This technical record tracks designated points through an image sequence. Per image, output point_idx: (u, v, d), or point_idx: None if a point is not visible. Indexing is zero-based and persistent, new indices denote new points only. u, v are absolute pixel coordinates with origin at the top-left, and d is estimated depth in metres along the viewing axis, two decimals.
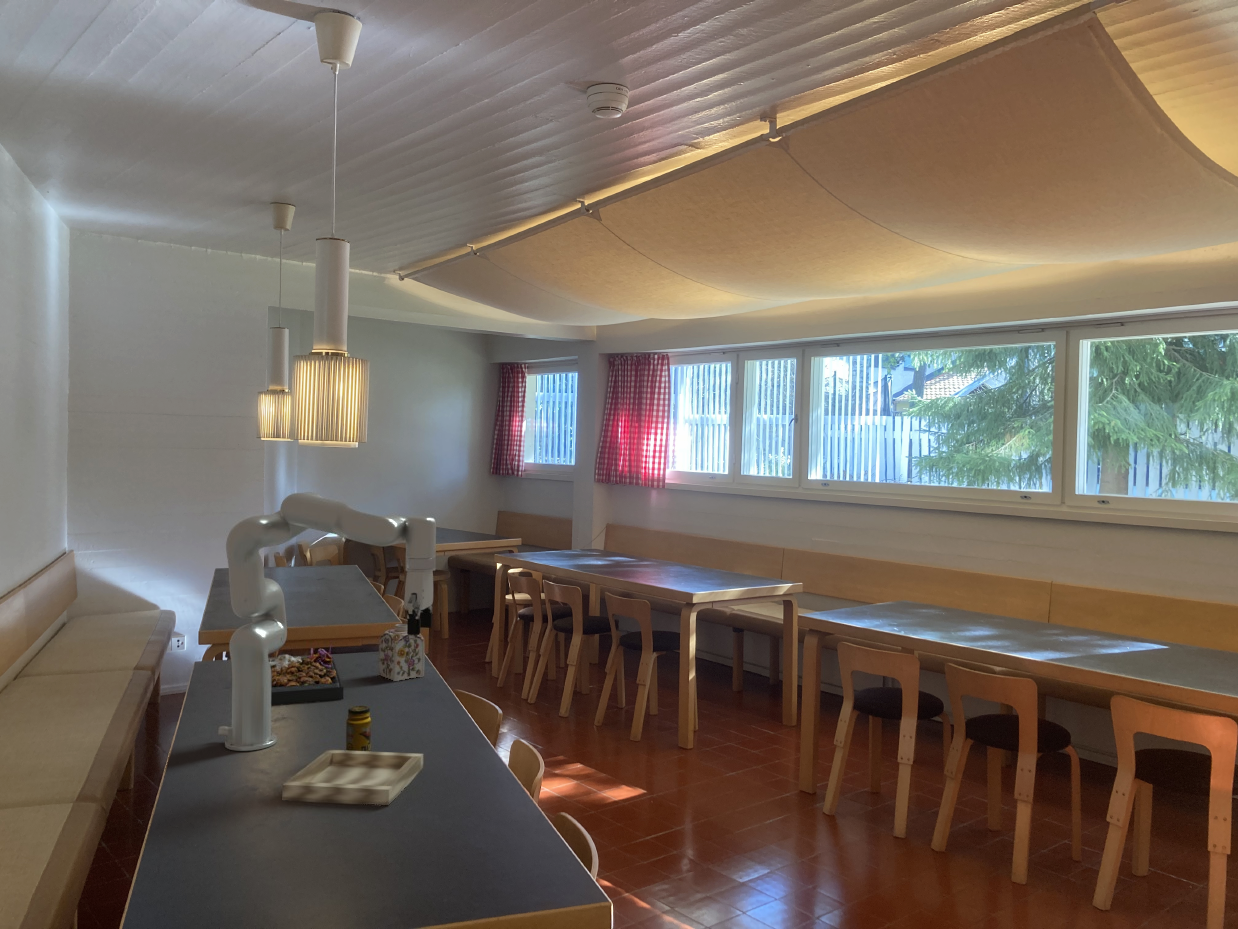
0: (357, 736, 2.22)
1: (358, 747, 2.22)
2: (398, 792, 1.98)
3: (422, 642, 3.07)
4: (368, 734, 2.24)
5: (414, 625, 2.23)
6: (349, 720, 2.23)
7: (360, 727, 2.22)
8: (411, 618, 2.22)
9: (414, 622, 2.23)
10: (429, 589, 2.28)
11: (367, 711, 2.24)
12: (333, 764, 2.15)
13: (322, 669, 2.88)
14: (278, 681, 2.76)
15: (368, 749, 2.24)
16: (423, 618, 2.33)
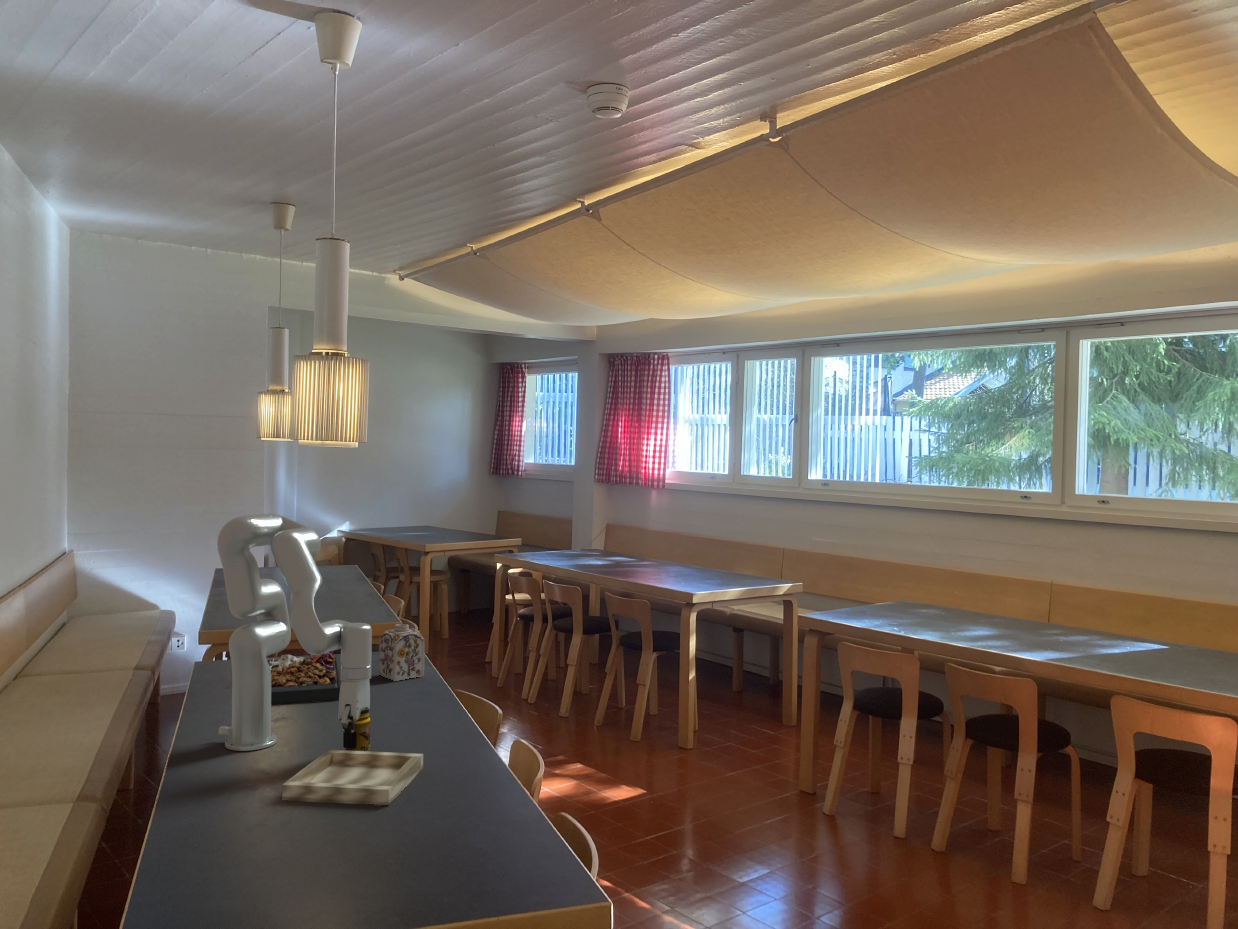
0: (357, 736, 2.22)
1: (357, 748, 2.22)
2: (398, 792, 1.98)
3: (422, 642, 3.07)
4: (367, 734, 2.24)
5: (350, 739, 2.20)
6: None
7: (359, 727, 2.22)
8: (347, 732, 2.20)
9: (350, 736, 2.20)
10: (364, 698, 2.24)
11: (366, 711, 2.24)
12: (333, 764, 2.15)
13: (322, 669, 2.88)
14: (277, 681, 2.76)
15: (367, 749, 2.24)
16: None
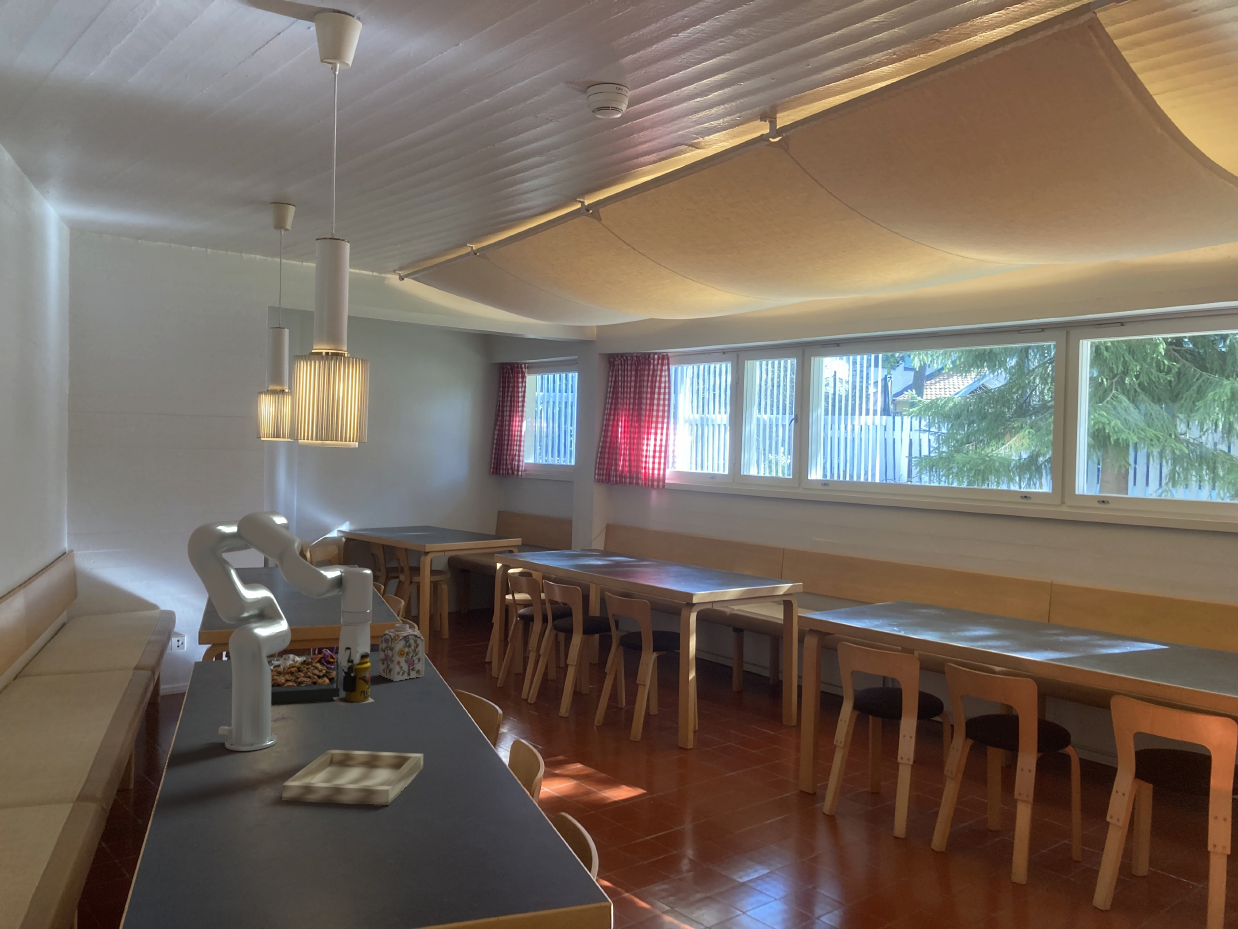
0: (357, 680, 2.22)
1: (357, 692, 2.22)
2: (398, 792, 1.98)
3: (422, 642, 3.07)
4: (367, 679, 2.24)
5: (350, 682, 2.20)
6: None
7: (359, 671, 2.22)
8: (347, 675, 2.20)
9: (350, 679, 2.20)
10: (365, 642, 2.24)
11: (367, 656, 2.24)
12: (333, 764, 2.15)
13: (321, 670, 2.88)
14: (276, 681, 2.76)
15: (367, 694, 2.24)
16: None
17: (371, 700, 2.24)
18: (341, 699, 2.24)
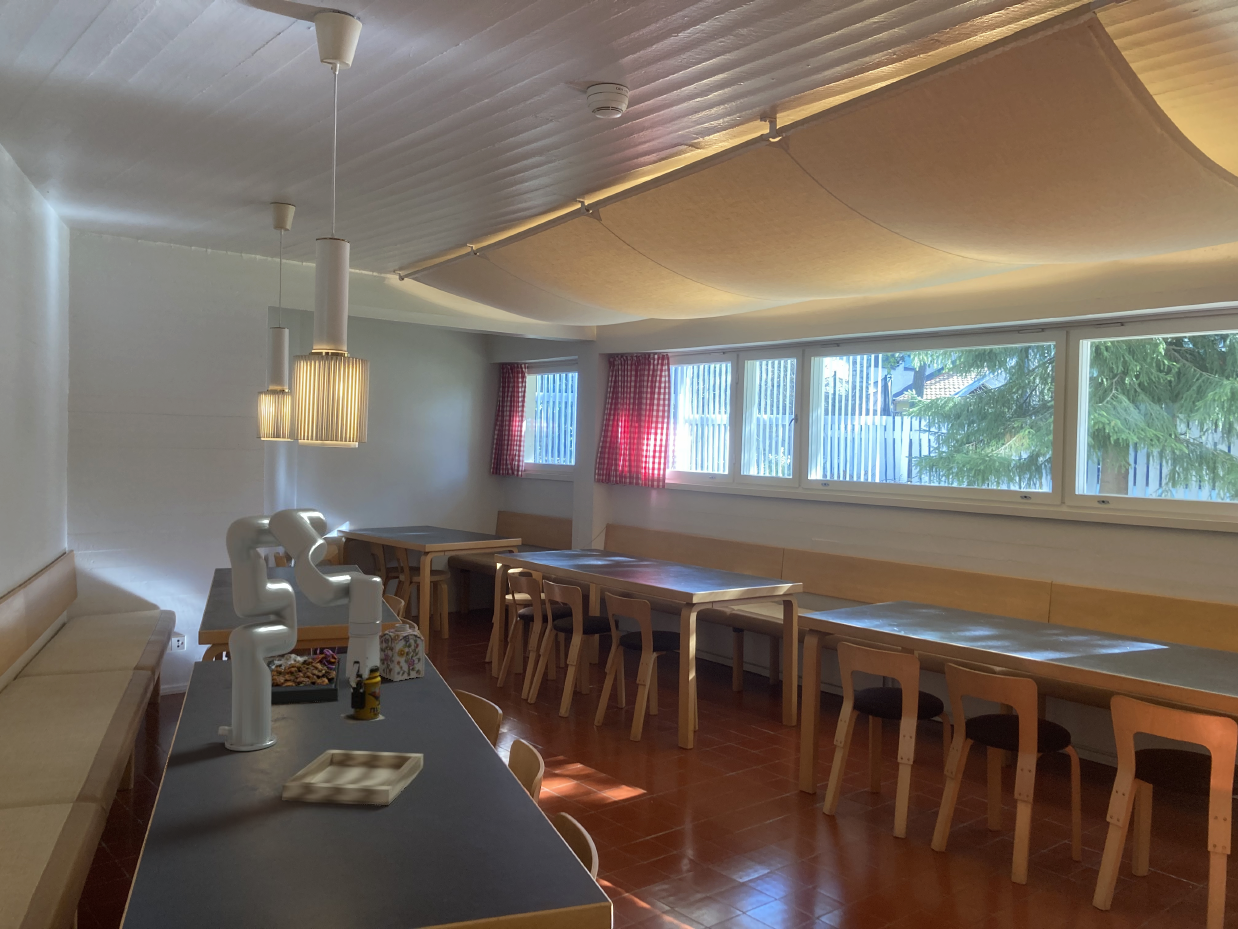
0: (366, 696, 2.06)
1: (367, 709, 2.06)
2: (398, 792, 1.98)
3: (422, 642, 3.07)
4: (377, 695, 2.08)
5: (358, 699, 2.05)
6: None
7: (368, 686, 2.06)
8: (355, 691, 2.05)
9: (358, 695, 2.05)
10: (374, 655, 2.09)
11: (376, 670, 2.08)
12: (333, 764, 2.15)
13: (321, 670, 2.88)
14: (275, 680, 2.76)
15: (377, 710, 2.08)
16: None
17: (381, 717, 2.09)
18: (349, 716, 2.09)
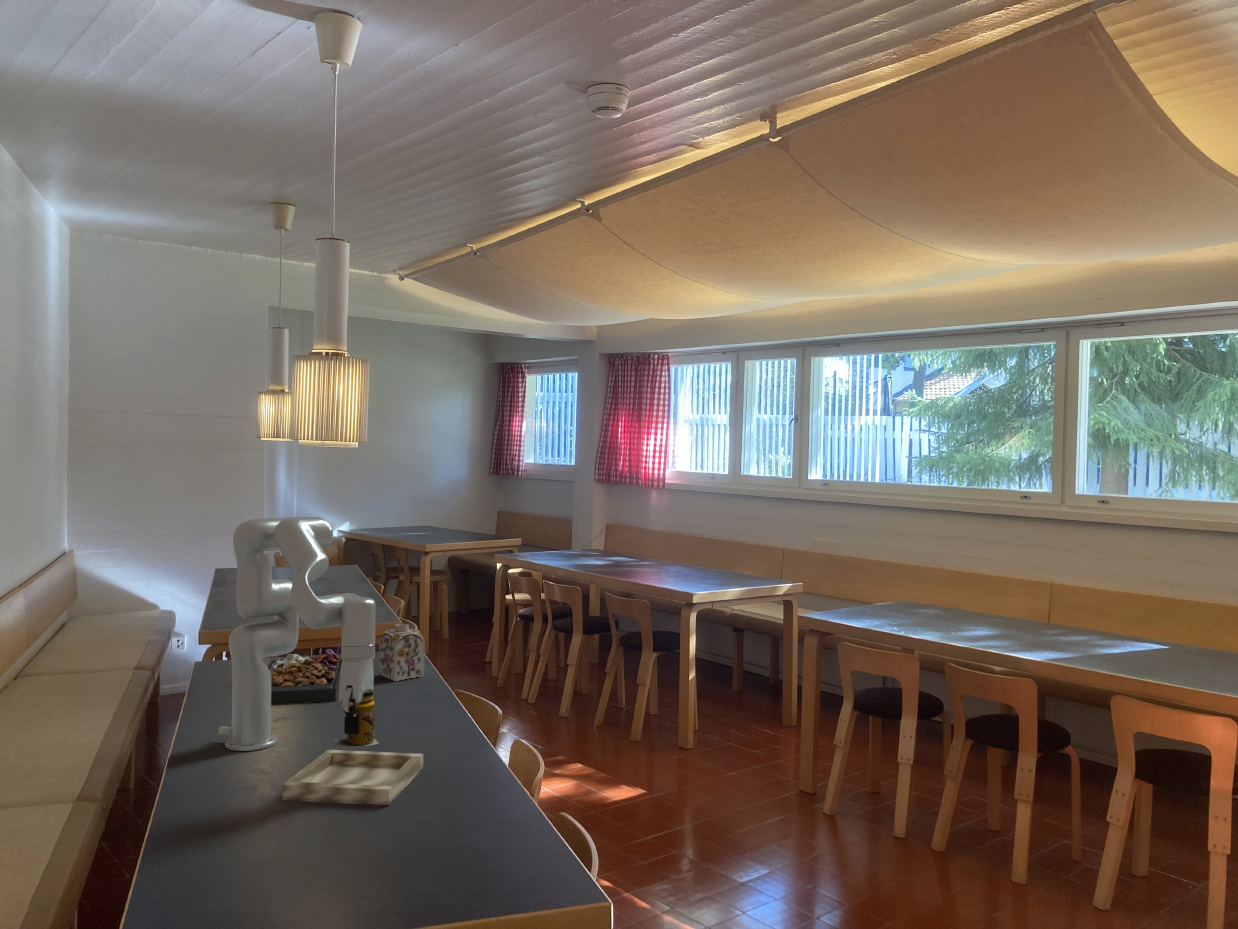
0: (360, 721, 2.02)
1: (361, 734, 2.02)
2: (398, 792, 1.98)
3: (422, 642, 3.07)
4: (371, 719, 2.04)
5: (352, 724, 2.01)
6: None
7: (362, 711, 2.02)
8: (348, 716, 2.01)
9: (352, 720, 2.01)
10: (368, 679, 2.05)
11: (370, 694, 2.04)
12: (333, 764, 2.15)
13: (321, 670, 2.87)
14: (274, 680, 2.77)
15: (371, 735, 2.04)
16: None
17: (376, 742, 2.05)
18: (343, 741, 2.05)
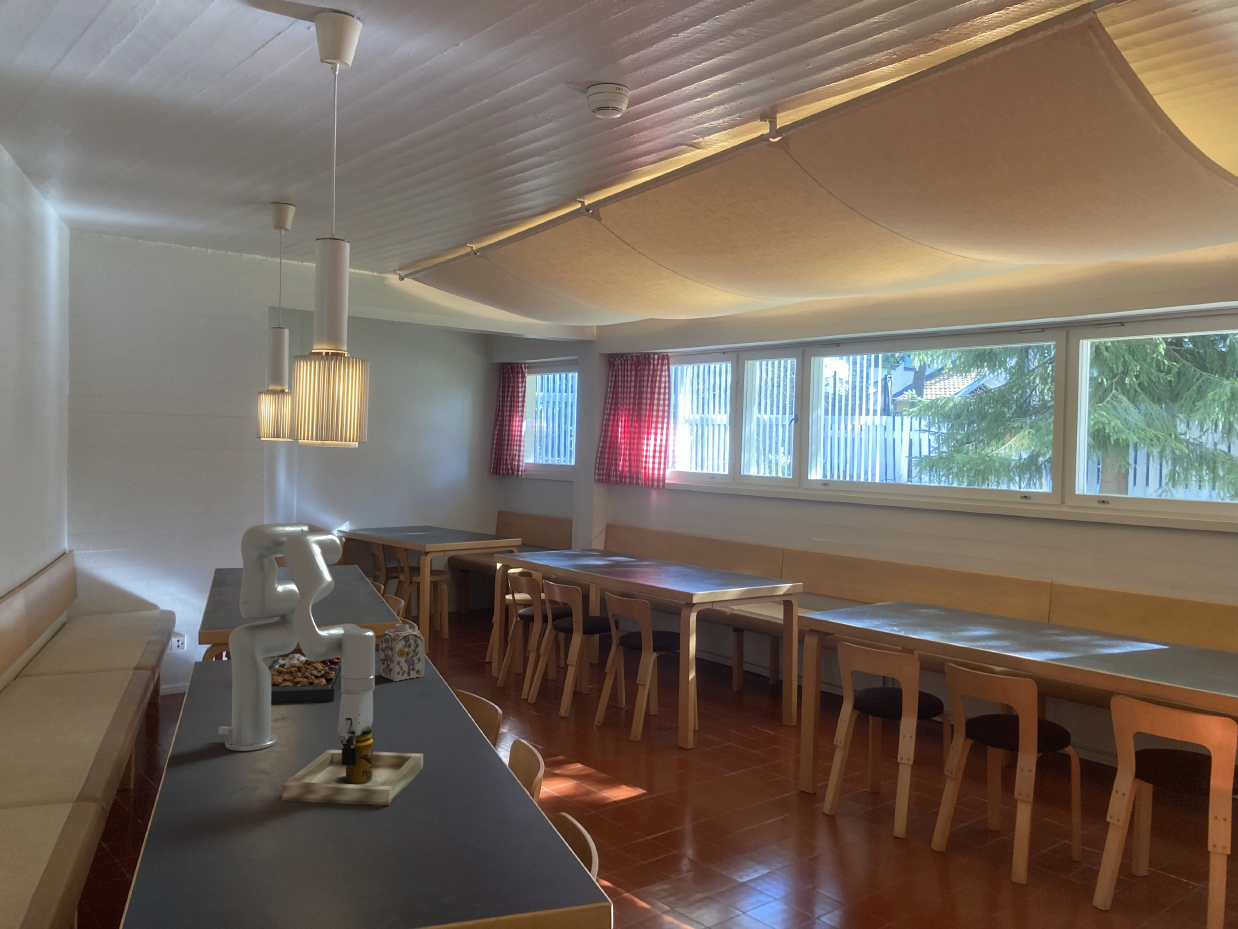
0: (358, 759, 2.02)
1: (359, 772, 2.02)
2: (398, 792, 1.98)
3: (422, 642, 3.07)
4: (370, 757, 2.04)
5: (349, 755, 2.00)
6: None
7: (360, 750, 2.02)
8: (346, 747, 2.00)
9: (349, 752, 2.00)
10: (367, 711, 2.05)
11: (369, 732, 2.04)
12: (333, 764, 2.15)
13: (320, 670, 2.87)
14: (273, 680, 2.77)
15: (369, 774, 2.04)
16: None
17: (374, 780, 2.05)
18: (341, 780, 2.05)
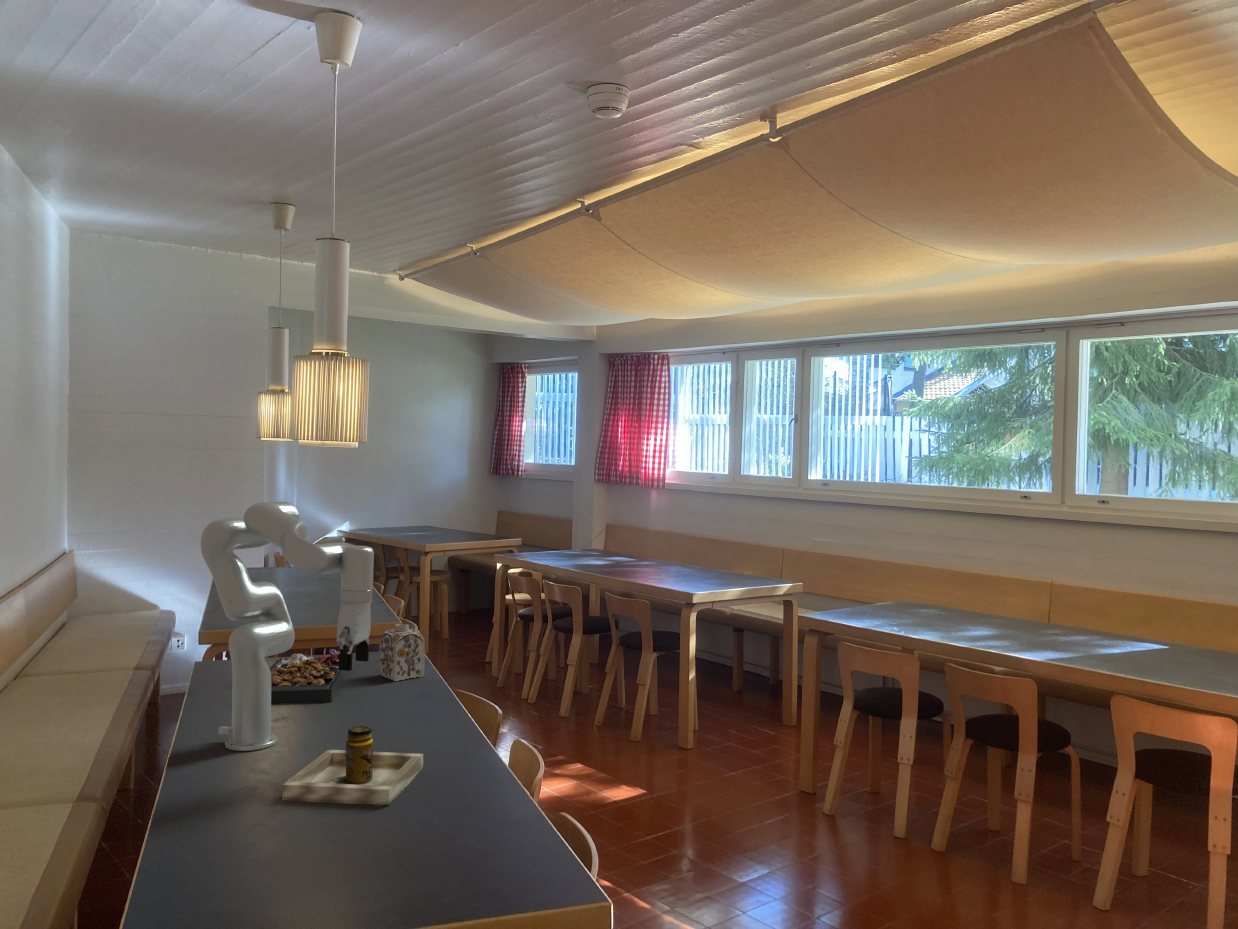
0: (358, 759, 2.02)
1: (359, 772, 2.02)
2: (398, 792, 1.98)
3: (422, 642, 3.07)
4: (370, 757, 2.04)
5: (345, 661, 2.13)
6: (349, 742, 2.03)
7: (360, 750, 2.02)
8: (342, 653, 2.12)
9: (345, 657, 2.13)
10: (364, 622, 2.18)
11: (369, 732, 2.04)
12: (333, 764, 2.15)
13: (320, 670, 2.87)
14: (271, 680, 2.77)
15: (369, 774, 2.04)
16: (359, 651, 2.23)
17: (374, 780, 2.05)
18: (341, 780, 2.05)
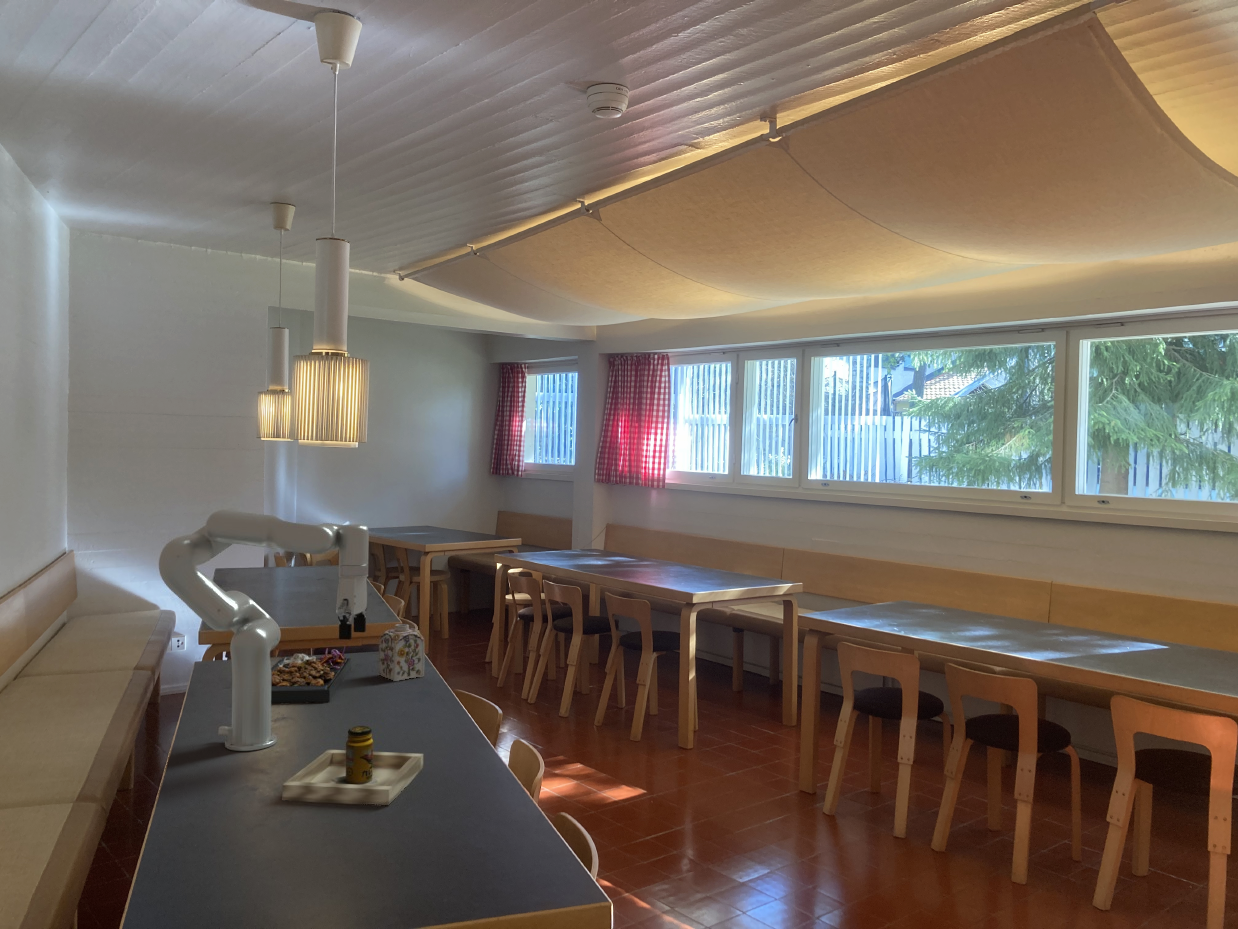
0: (358, 759, 2.02)
1: (359, 772, 2.02)
2: (398, 792, 1.98)
3: (422, 642, 3.07)
4: (370, 757, 2.04)
5: (345, 630, 2.29)
6: (349, 742, 2.03)
7: (360, 750, 2.02)
8: (342, 623, 2.29)
9: (345, 627, 2.29)
10: (361, 595, 2.35)
11: (369, 732, 2.04)
12: (333, 764, 2.15)
13: (319, 670, 2.87)
14: None
15: (369, 774, 2.04)
16: (357, 623, 2.40)
17: (374, 780, 2.05)
18: (341, 780, 2.05)
